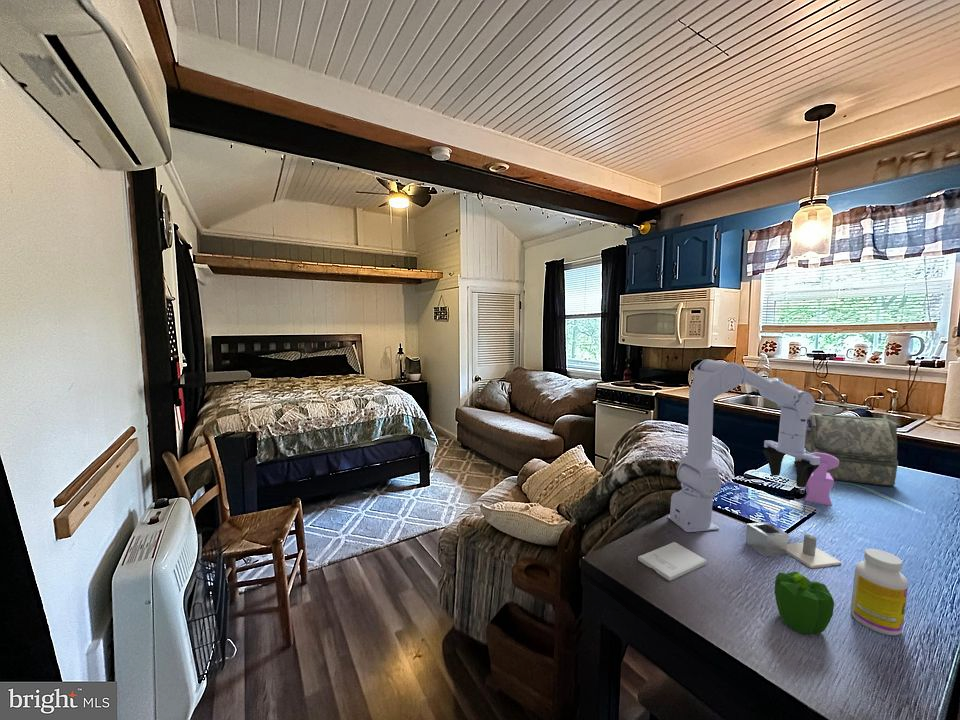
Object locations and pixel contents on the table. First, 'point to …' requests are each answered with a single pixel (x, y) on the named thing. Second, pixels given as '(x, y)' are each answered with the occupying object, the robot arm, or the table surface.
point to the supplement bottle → (879, 592)
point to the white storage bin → (766, 539)
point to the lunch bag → (855, 446)
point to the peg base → (810, 553)
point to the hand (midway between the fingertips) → (787, 480)
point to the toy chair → (821, 480)
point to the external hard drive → (672, 560)
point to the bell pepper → (803, 603)
